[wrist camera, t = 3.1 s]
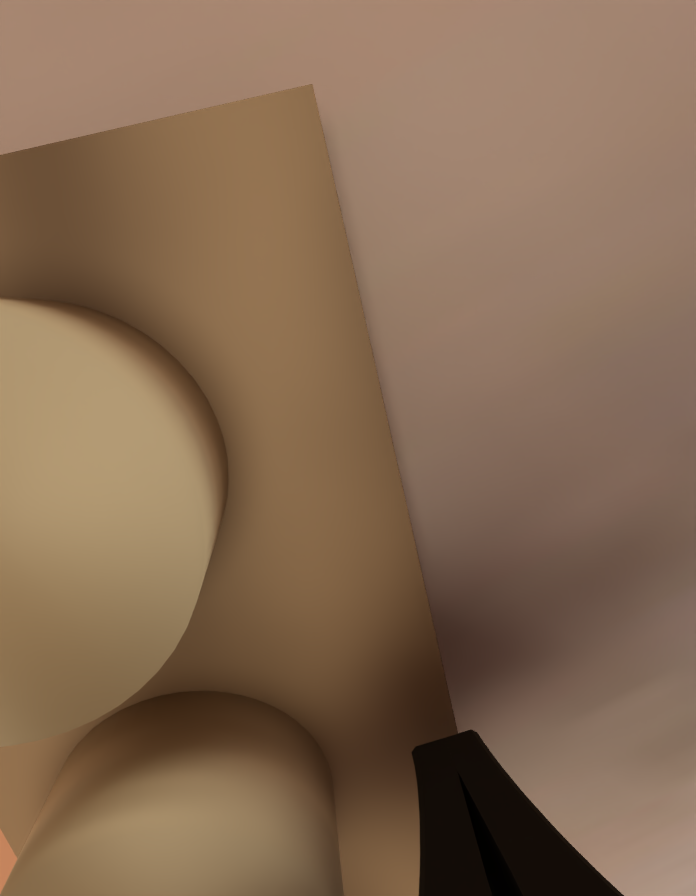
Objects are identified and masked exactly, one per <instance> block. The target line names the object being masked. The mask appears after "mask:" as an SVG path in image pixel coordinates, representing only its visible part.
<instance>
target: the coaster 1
mask: <svg viewBox="0 0 696 896" xmlns="http://www.w3.org/2000/svg"><path fill="white" fill-rule="evenodd" d="M228 482H229V474H228V458H227V453H226V448H225V443H224V438H223V435H222V432H221V429H220V426H219V424H218V421H217V418H216V416H215V414H214V412H213V410H212V408H211V406H210V404H209V402H208V400H207V398H206V396H205V395H204V393H203V392H202V390H201V389H200V387H199V386H198V384H197V383H196V381H195V380H194V378H193V377H192V376H191V375H190V374H189V373H188V372H187V370H186V369H185V368H184V367H183V366H182V365H181V364H180V362H179V361H178V360H177V359H176V358H175V357H173V356H172V355H171V354H170V353H169V352H168V351H167V350H166V349H164V348H163V347H162V346H161V345H160V344H159V343H157V342H156V341H154V340H153V339H151V338H150V337H149V336H147V335H146V334H144V333H143V332H141V331H140V330H138V329H136V328H134V327H133V326H131V325H129V324H127V323H125V322H123V321H121V320H119V319H118V318H115V317H112V316H110V315H107V314H105V313H102V312H100V311H97V310H94V309H91V308H87V307H83V306H79V305H75V304H71V303H66V302H58V301H51V300H42V299H22V298H3V297H0V747H4V746H13V745H18V744H23V743H28V742H33V741H39V740H43V739H46V738H49V737H52V736H55V735H59V734H62V733H65V732H68V731H71V730H73V729H75V728H78V727H80V726H82V725H84V724H87V723H89V722H91V721H94V720H95V719H97V718H99V717H101V716H102V715H104V714H106V713H107V712H109V711H111V710H113V709H114V708H116V707H118V706H119V705H120V704H122V703H123V702H124V701H126V700H127V699H128V698H130V697H131V696H132V695H134V694H135V693H136V692H137V691H139V690H140V689H141V688H142V687H143V686H144V685H145V684H146V683H147V682H148V681H149V680H150V679H151V678H152V677H153V676H154V675H155V674H156V673H157V672H158V671H159V670H160V668H161V667H162V666H163V664H164V663H165V662H166V660H167V659H168V658H169V657H170V655H171V654H172V653H173V651H174V650H175V648H176V646H177V645H178V643H179V641H180V639H181V637H182V636H183V634H184V632H185V630H186V628H187V626H188V624H189V621H190V618H191V616H192V613H193V610H194V608H195V605H196V603H197V599H198V596H199V593H200V590H201V586H202V583H203V580H204V577H205V573H206V570H207V567H208V564H209V561H210V557H211V554H212V551H213V548H214V544H215V541H216V538H217V535H218V531H219V528H220V525H221V522H222V519H223V515H224V510H225V506H226V501H227V495H228Z"/></svg>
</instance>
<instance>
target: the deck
mask: <svg viewBox="0 0 696 896" xmlns="http://www.w3.org/2000/svg"><path fill="white" fill-rule="evenodd" d="M0 297H3V298H22V299H42V300H51V301H58V302H66V303H71V304H75V305H79V306H83V307H87V308H91V309H94V310H97V311H100V312H102V313H105V314H107V315H110V316H112V317H115V318H118V319H119V320H121V321H123V322H125V323H127V324H129V325H131V326H133V327H134V328H136V329H138V330H140V331H141V332H143V333H144V334H146V335H147V336H149V337H150V338H151V339H153V340H154V341H156V342H157V343H159V344H160V345H161V346H162V347H163V348H164V349H166V350H167V351H168V352H169V353H170V354H171V355H172V356H173V357H175V358H176V359H177V360H178V361H179V362H180V364H181V365H182V366H183V367H184V368H185V369H186V370H187V372H188V373H189V374H190V375H191V376H192V377H193V378H194V380H195V381H196V383H197V384H198V386H199V387H200V389H201V390H202V392H203V393H204V395H205V396H206V398H207V400H208V402H209V404H210V406H211V408H212V410H213V412H214V414H215V416H216V418H217V421H218V424H219V426H220V429H221V432H222V435H223V438H224V443H225V448H226V453H227V458H228V474H229V482H228V495H227V501H226V506H225V510H224V515H223V519H222V522H221V525H220V528H219V531H218V535H217V538H216V541H215V544H214V548H213V551H212V554H211V557H210V561H209V564H208V567H207V570H206V573H205V577H204V580H203V583H202V586H201V590H200V593H199V596H198V599H197V603H196V605H195V608H194V610H193V613H192V616H191V618H190V621H189V624H188V626H187V628H186V630H185V632H184V634H183V636H182V637H181V639H180V641H179V643H178V645H177V646H176V648H175V650H174V651H173V653H172V654H171V655H170V657H169V658H168V659H167V660H166V662H165V663H164V664H163V666H162V667H161V668H160V670H159V671H158V672H157V673H156V674H155V675H154V676H153V677H152V678H151V679H150V680H149V681H148V682H147V683H146V684H145V685H144V686H143V687H142V688H141V689H140V690H139V691H137V692H136V693H135V694H134V695H132V696H131V697H130V698H128V699H127V700H126V701H124V702H123V703H122V704H120V705H119V706H118V707H116V708H114V709H113V710H111V711H109V712H107V713H106V714H104V715H102V716H101V717H99V718H97V719H95V720H94V721H91V722H89V723H87V724H84V725H82V726H80V727H78V728H75V729H73V730H71V731H68V732H65V733H62V734H59V735H55V736H52V737H49V738H46V739H43V740H39V741H33V742H28V743H23V744H18V745H13V746H4V747H0V829H1V831H2V833H3V834H4V836H5V838H6V840H7V841H8V843H9V845H10V847H11V848H12V850H13V852H14V854H15V855H16V857H17V859H18V857H19V855H20V853H21V851H22V849H23V846H24V844H25V842H26V840H27V838H28V836H29V834H30V832H31V830H32V828H33V826H34V824H35V822H36V820H37V818H38V816H39V814H40V812H41V810H42V808H43V806H44V804H45V802H46V800H47V798H48V796H49V794H50V792H51V790H52V787H53V785H54V783H55V781H56V779H57V777H58V775H59V773H60V771H61V769H62V767H63V766H64V764H65V762H66V760H67V758H68V756H69V755H70V753H71V752H72V751H73V749H74V748H75V747H76V746H77V744H78V743H79V742H80V741H81V740H82V739H83V738H84V737H85V736H86V735H87V734H88V733H89V732H90V731H91V730H92V729H93V728H94V727H96V726H97V725H98V724H100V723H101V722H102V721H104V720H105V719H106V718H108V717H110V716H112V715H113V714H115V713H117V712H118V711H120V710H122V709H124V708H126V707H129V706H131V705H133V704H136V703H138V702H140V701H143V700H147V699H150V698H153V697H157V696H161V695H166V694H171V693H177V692H187V691H219V692H226V693H233V694H238V695H242V696H246V697H250V698H254V699H256V700H259V701H261V702H264V703H266V704H269V705H271V706H273V707H275V708H277V709H279V710H280V711H282V712H284V713H286V714H287V715H289V716H290V717H291V718H293V719H294V720H295V721H297V722H298V723H299V724H300V725H301V726H302V727H304V728H305V729H306V730H307V731H308V732H309V733H310V734H311V736H312V737H313V738H314V740H315V741H316V742H317V744H318V745H319V746H320V748H321V750H322V752H323V754H324V756H325V758H326V760H327V763H328V766H329V769H330V772H331V777H332V783H333V792H334V802H335V812H336V821H337V831H338V841H339V851H340V861H341V871H342V881H343V891H344V896H419V875H420V819H419V801H418V788H417V779H416V772H415V766H414V761H413V757H412V753H411V752H412V751H413V749H414V748H415V746H419V745H422V744H425V743H429V742H432V741H435V740H438V739H442V738H445V737H448V736H452V735H455V734H458V732H457V727H456V723H455V718H454V714H453V710H452V705H451V701H450V696H449V692H448V687H447V683H446V678H445V674H444V669H443V665H442V660H441V656H440V652H439V647H438V643H437V638H436V634H435V629H434V625H433V620H432V616H431V611H430V607H429V602H428V598H427V594H426V589H425V585H424V580H423V576H422V571H421V567H420V562H419V558H418V553H417V549H416V544H415V540H414V536H413V531H412V527H411V522H410V518H409V513H408V509H407V504H406V500H405V495H404V491H403V486H402V482H401V478H400V473H399V469H398V464H397V460H396V455H395V451H394V446H393V442H392V437H391V433H390V428H389V424H388V420H387V415H386V411H385V406H384V402H383V397H382V393H381V388H380V384H379V379H378V375H377V371H376V366H375V362H374V357H373V353H372V348H371V344H370V339H369V335H368V330H367V326H366V321H365V317H364V313H363V308H362V304H361V299H360V295H359V290H358V286H357V281H356V277H355V272H354V268H353V263H352V259H351V255H350V250H349V246H348V241H347V237H346V232H345V228H344V223H343V219H342V214H341V210H340V205H339V201H338V197H337V192H336V188H335V183H334V179H333V174H332V170H331V165H330V161H329V156H328V152H327V147H326V143H325V139H324V134H323V130H322V125H321V121H320V116H319V112H318V107H317V103H316V98H315V94H314V89H313V85H312V84H310V85H306V86H301V87H297V88H293V89H288V90H284V91H279V92H275V93H271V94H266V95H262V96H258V97H253V98H249V99H244V100H240V101H236V102H231V103H227V104H222V105H218V106H214V107H209V108H205V109H200V110H196V111H192V112H187V113H183V114H179V115H174V116H170V117H165V118H161V119H157V120H152V121H148V122H143V123H139V124H135V125H130V126H126V127H122V128H117V129H113V130H108V131H104V132H100V133H95V134H91V135H86V136H82V137H78V138H73V139H69V140H64V141H60V142H56V143H51V144H47V145H43V146H38V147H34V148H29V149H25V150H21V151H16V152H12V153H7V154H3V155H0Z"/></svg>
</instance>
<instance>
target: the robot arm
mask: <svg viewBox="0 0 696 896" xmlns="http://www.w3.org/2000/svg"><path fill="white" fill-rule="evenodd" d="M411 753H412V757H413V761H414V766H415V772H416V779H417V788H418V801H419V819H420V875H419V896H624V895H623V894H621V893H620V892H619V891H618V890H617V889H616V888H615V887H614V886H613V885H612V884H611V883H610V882H609V881H607V880H606V879H605V878H604V877H603V876H602V875H601V874H600V873H599V872H598V871H597V870H596V869H595V868H594V867H593V866H592V865H591V864H590V863H589V862H588V861H587V860H586V859H585V858H584V857H583V856H582V855H581V854H580V853H579V852H578V851H577V850H576V849H575V848H574V847H573V846H572V845H571V844H570V843H569V842H568V841H567V840H566V839H565V838H564V837H563V836H562V835H561V834H560V833H559V832H558V831H557V830H556V828H555V827H554V826H553V825H552V824H551V823H550V822H549V821H548V820H547V819H546V818H545V816H544V815H543V814H542V813H541V812H540V811H539V810H538V809H537V808H536V807H535V805H534V804H533V803H532V802H531V801H530V800H529V799H528V798H527V796H526V795H525V794H524V793H523V792H522V791H521V790H520V788H519V787H518V786H517V785H516V784H515V782H514V781H513V780H512V779H511V777H510V776H509V775H508V774H507V773H506V771H505V770H504V769H503V768H502V766H501V765H500V764H499V763H498V761H497V760H496V759H495V757H494V756H493V755H492V753H491V752H490V751H489V749H488V748H487V746H486V745H485V743H484V742H483V741H482V739H481V738H480V736H479V734H478V733H477V732H475V731H473V730H468V731H465V732H462V733H458V734H455V735H452V736H448V737H445V738H442V739H438V740H435V741H432V742H429V743H425V744H422V745H419V746H415V748H414V749H413V751H412V752H411Z"/></svg>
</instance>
